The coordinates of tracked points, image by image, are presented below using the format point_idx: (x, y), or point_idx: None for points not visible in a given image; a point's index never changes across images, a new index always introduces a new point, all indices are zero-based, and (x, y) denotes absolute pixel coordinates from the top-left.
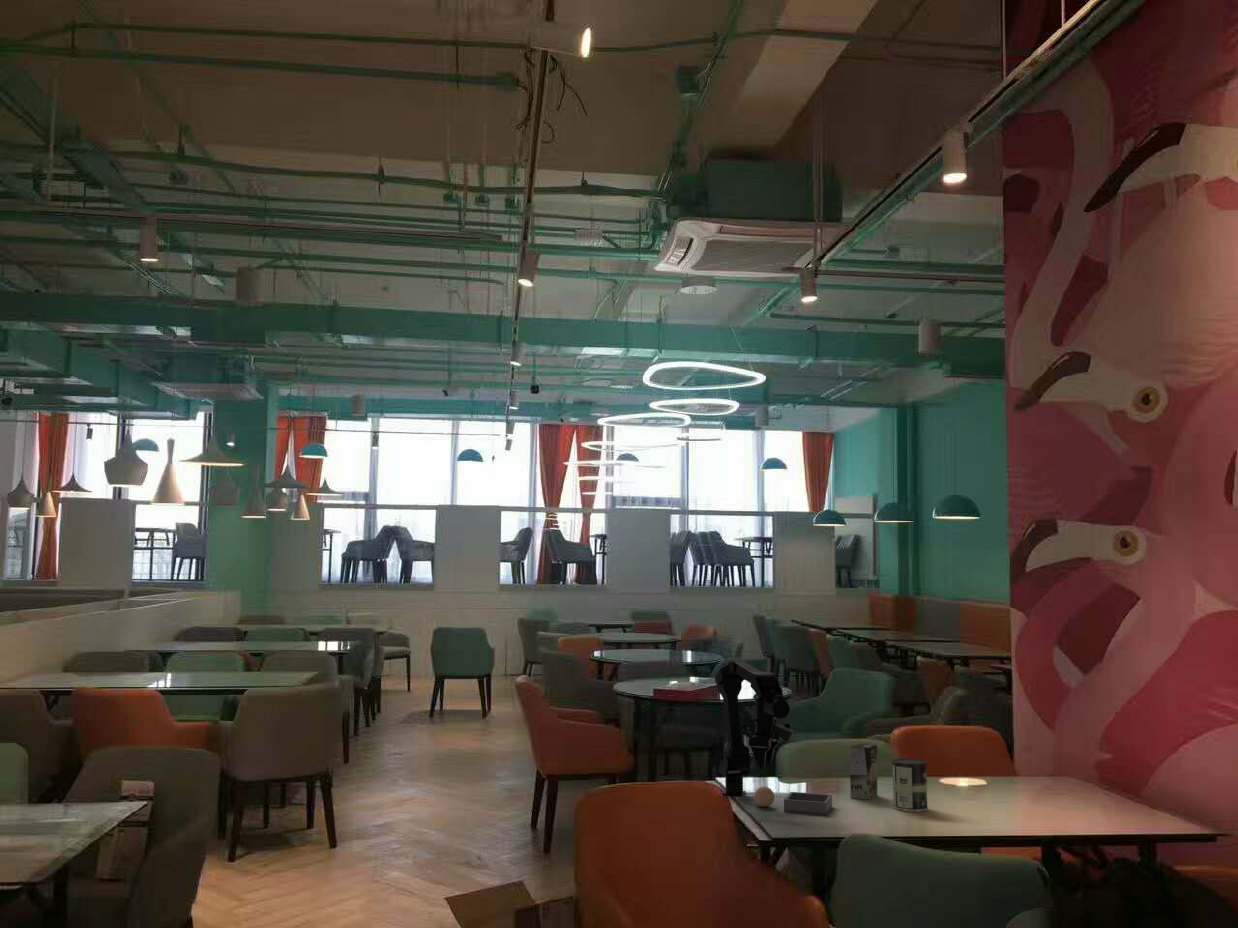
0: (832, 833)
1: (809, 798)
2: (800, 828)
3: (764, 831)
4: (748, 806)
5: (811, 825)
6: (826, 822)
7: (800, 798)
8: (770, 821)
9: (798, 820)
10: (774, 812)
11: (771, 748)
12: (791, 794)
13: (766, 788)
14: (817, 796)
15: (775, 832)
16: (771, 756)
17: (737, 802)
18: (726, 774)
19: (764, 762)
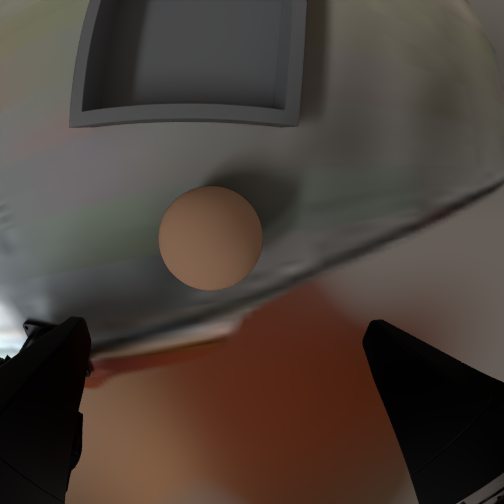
0: (480, 40)
1: (101, 38)
2: (473, 99)
3: (495, 189)
4: None
5: (444, 60)
6: (400, 7)
7: (96, 78)
8: (433, 175)
9: (407, 83)
10: (309, 166)
11: (1, 450)
12: (130, 106)
13: (230, 242)
14: (104, 2)
15: (499, 165)
16: (44, 368)
17: (169, 326)
18: (81, 416)
19: (428, 346)
